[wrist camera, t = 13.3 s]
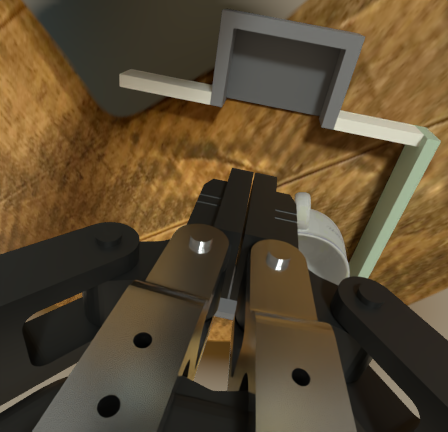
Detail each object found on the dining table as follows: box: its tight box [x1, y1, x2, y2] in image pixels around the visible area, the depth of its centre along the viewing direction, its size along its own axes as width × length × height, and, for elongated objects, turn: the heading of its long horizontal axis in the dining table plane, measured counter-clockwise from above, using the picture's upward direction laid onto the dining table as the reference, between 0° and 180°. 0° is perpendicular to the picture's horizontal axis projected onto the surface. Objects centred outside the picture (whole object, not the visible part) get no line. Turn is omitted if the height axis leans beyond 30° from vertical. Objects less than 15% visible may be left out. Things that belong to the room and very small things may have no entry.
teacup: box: [294, 192, 350, 285], centre depth 40 cm, size 14×11×8 cm
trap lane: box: [119, 9, 441, 320], centre depth 41 cm, size 31×38×4 cm
